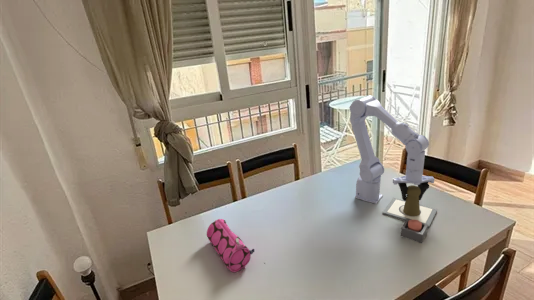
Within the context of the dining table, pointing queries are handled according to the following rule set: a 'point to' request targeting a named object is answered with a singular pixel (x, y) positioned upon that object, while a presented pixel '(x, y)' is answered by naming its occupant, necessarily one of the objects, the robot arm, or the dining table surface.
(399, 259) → the dining table surface
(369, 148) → the robot arm
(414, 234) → the button base
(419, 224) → the button
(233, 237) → the pencil case
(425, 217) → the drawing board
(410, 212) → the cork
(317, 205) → the dining table surface
